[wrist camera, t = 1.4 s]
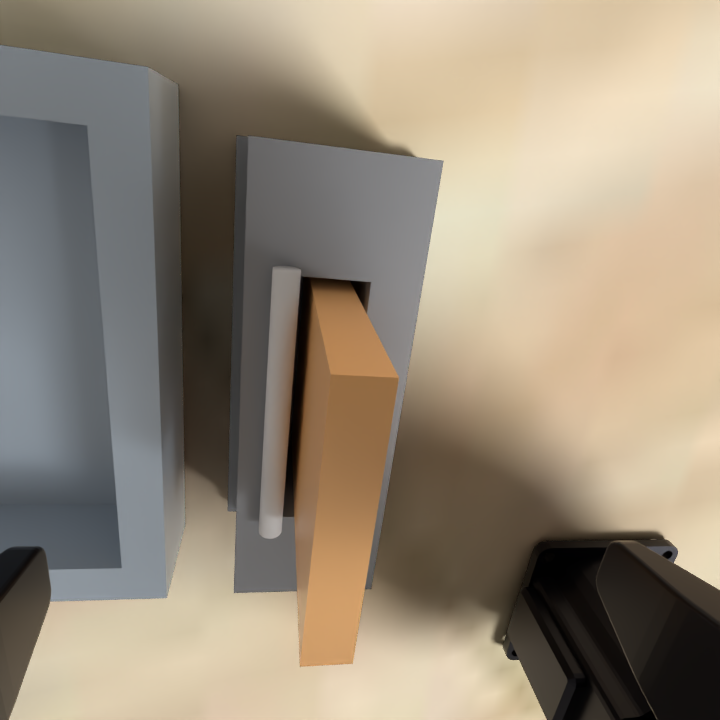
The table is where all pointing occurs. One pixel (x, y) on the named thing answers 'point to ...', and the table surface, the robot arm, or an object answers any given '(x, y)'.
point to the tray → (91, 323)
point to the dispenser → (284, 304)
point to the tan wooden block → (337, 464)
